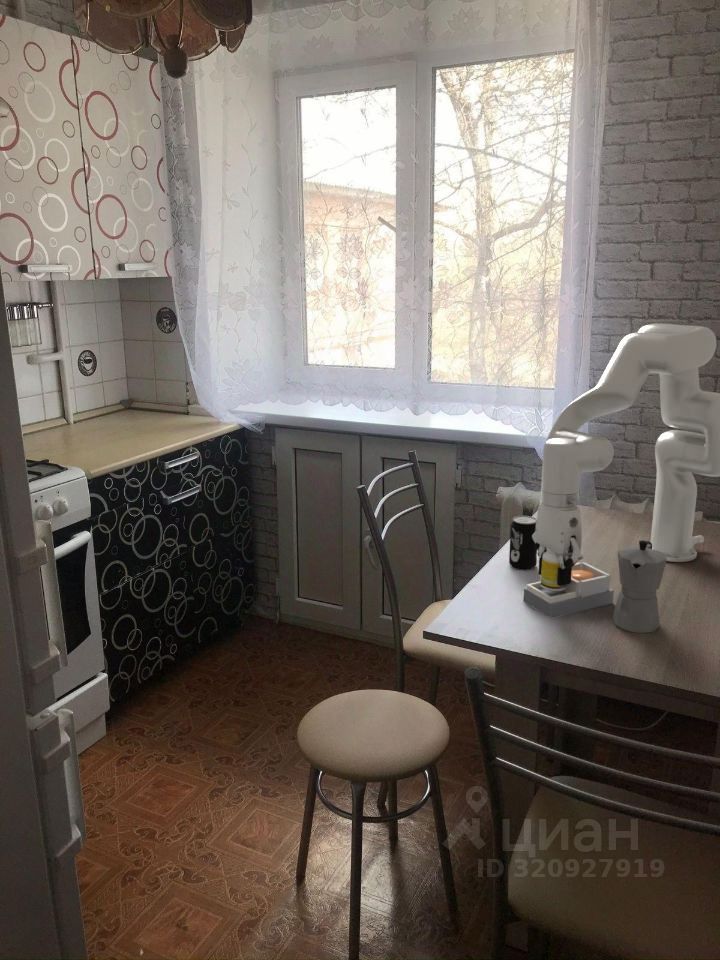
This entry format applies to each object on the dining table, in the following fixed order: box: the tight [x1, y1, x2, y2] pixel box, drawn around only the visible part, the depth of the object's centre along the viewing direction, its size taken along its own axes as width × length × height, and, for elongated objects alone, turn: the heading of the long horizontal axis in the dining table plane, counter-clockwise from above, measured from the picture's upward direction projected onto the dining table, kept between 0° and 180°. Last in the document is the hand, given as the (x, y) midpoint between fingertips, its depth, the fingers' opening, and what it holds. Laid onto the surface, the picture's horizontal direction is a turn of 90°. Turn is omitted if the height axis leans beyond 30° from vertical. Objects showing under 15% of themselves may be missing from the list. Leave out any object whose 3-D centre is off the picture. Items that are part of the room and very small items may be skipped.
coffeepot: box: [612, 540, 668, 634], centre depth 158 cm, size 15×9×18 cm, turn 151°
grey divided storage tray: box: [522, 561, 615, 619], centre depth 169 cm, size 17×10×6 cm, turn 115°
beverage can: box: [508, 515, 538, 571], centre depth 189 cm, size 7×7×12 cm
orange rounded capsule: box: [571, 570, 594, 590], centre depth 170 cm, size 6×6×5 cm
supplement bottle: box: [540, 548, 568, 591], centre depth 166 cm, size 5×5×10 cm
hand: (554, 578), depth 167 cm, fingers closed on supplement bottle, 5 cm apart
